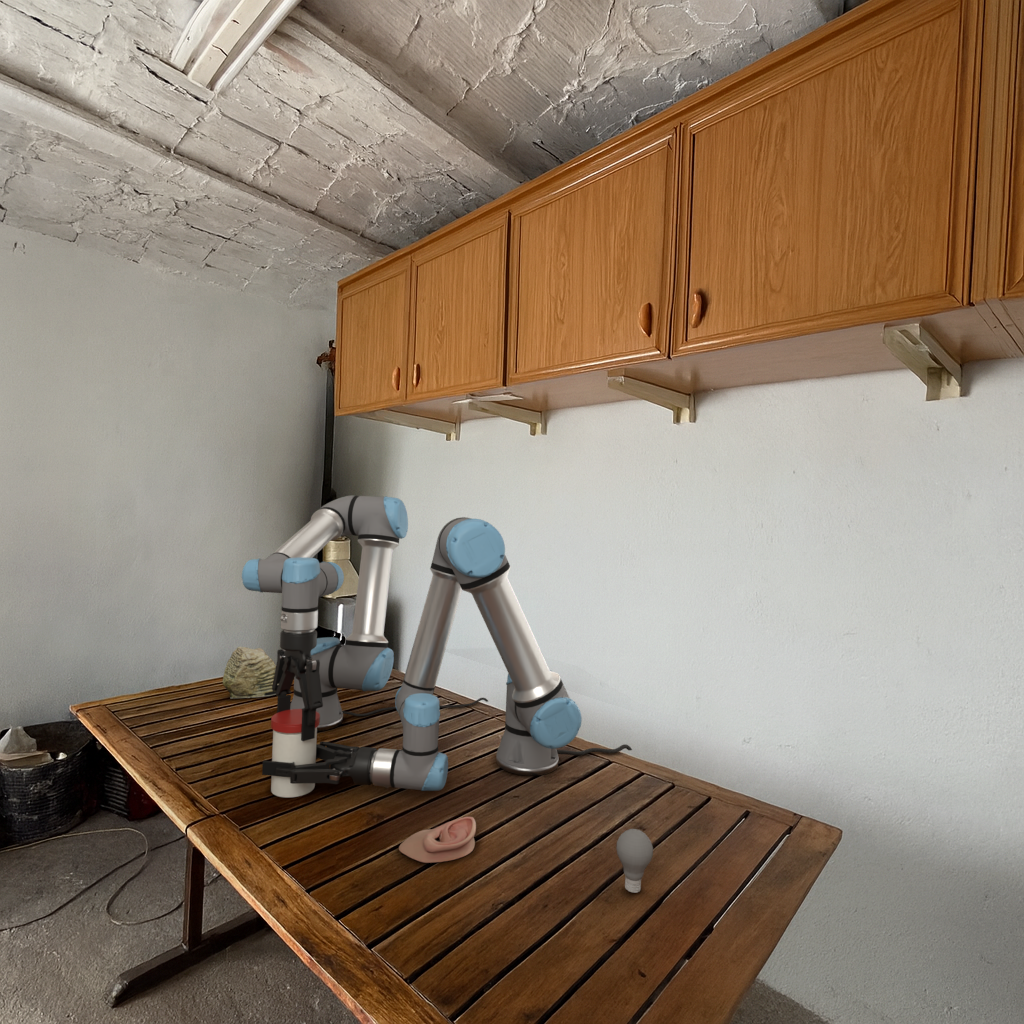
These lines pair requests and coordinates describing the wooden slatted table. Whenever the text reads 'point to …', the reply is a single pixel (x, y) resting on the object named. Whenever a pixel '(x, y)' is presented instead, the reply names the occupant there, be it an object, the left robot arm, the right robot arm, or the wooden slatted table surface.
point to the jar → (289, 751)
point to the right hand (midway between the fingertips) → (274, 758)
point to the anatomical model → (441, 842)
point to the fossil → (249, 673)
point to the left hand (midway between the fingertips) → (295, 732)
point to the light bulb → (634, 857)
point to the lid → (290, 721)
